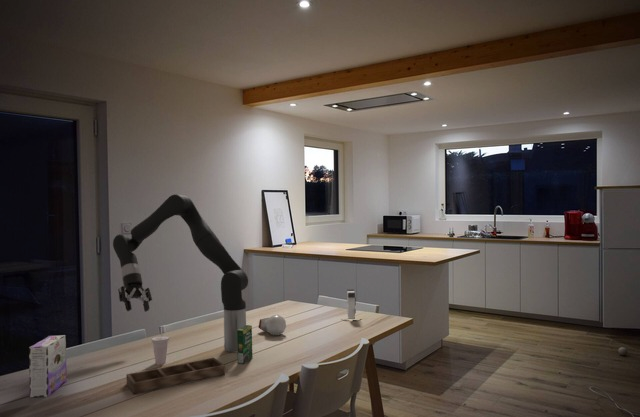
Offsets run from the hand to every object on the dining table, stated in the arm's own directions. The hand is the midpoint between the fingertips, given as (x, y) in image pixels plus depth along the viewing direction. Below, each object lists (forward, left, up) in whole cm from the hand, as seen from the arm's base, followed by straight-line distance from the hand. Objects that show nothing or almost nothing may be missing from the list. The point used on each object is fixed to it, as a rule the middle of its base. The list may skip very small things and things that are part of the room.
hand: (138, 310), depth 199 cm
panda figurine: (-107, +5, -18) cm, 108 cm away
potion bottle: (-59, +7, -18) cm, 62 cm away
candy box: (+34, +26, -18) cm, 47 cm away
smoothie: (-4, +20, -18) cm, 27 cm away
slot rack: (-4, +42, -17) cm, 46 cm away
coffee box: (-32, +37, -18) cm, 52 cm away
